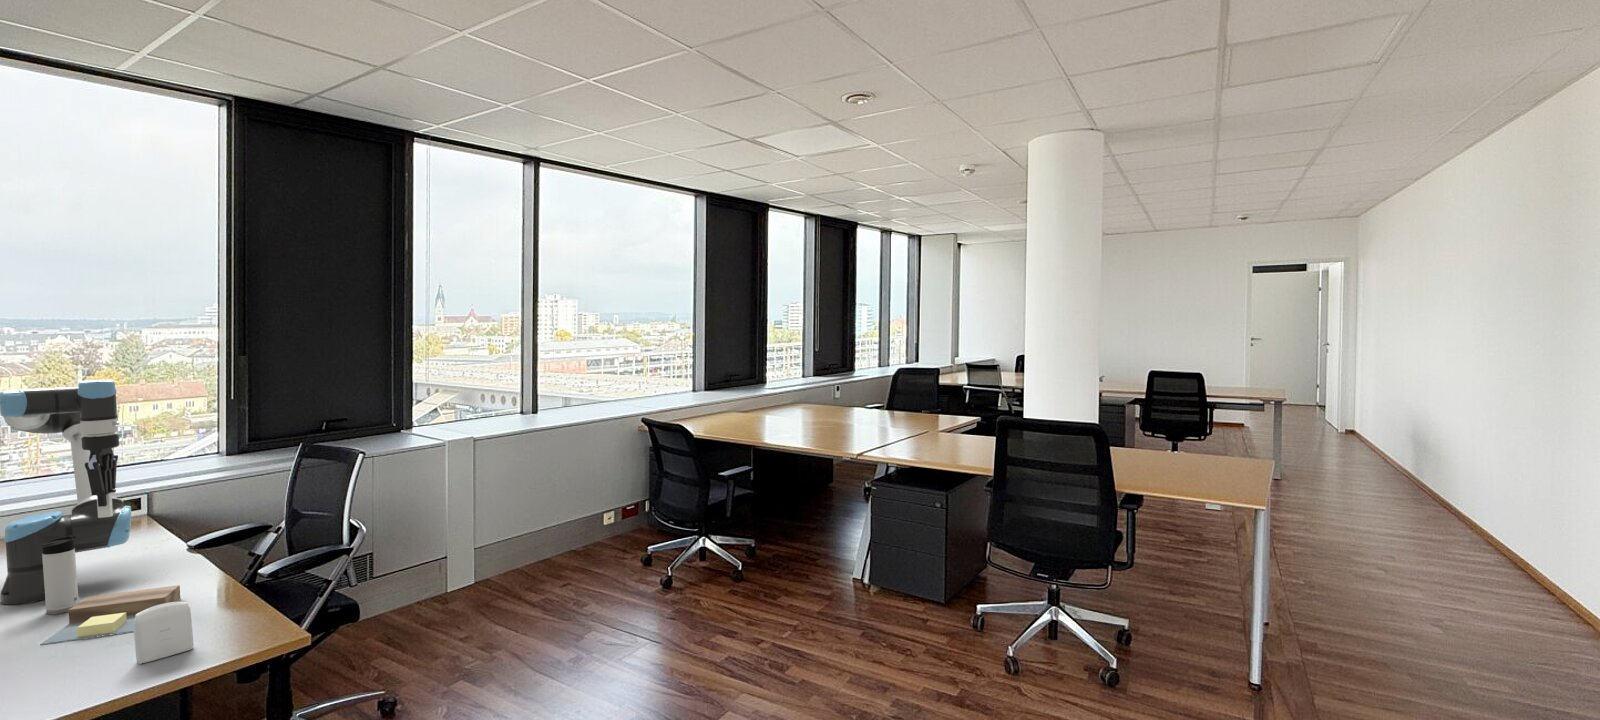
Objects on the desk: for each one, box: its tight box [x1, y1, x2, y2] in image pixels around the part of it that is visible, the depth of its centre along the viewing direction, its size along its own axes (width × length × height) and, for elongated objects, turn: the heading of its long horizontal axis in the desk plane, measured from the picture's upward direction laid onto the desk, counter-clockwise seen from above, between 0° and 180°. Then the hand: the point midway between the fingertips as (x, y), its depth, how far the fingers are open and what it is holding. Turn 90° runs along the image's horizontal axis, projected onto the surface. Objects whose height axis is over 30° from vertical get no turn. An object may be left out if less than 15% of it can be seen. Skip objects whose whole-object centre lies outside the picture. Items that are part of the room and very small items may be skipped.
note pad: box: [77, 612, 127, 637], centre depth 183 cm, size 7×7×2 cm
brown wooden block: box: [67, 584, 181, 624], centre depth 195 cm, size 10×20×4 cm, turn 113°
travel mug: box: [42, 536, 79, 615], centre depth 196 cm, size 6×7×20 cm
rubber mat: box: [39, 615, 135, 646], centre depth 185 cm, size 13×20×1 cm, turn 113°
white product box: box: [133, 601, 194, 665], centre depth 169 cm, size 10×4×12 cm, turn 140°
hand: (105, 516), depth 202 cm, fingers closed
